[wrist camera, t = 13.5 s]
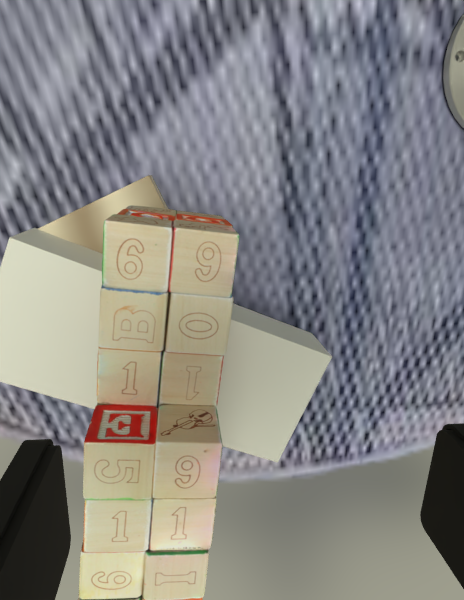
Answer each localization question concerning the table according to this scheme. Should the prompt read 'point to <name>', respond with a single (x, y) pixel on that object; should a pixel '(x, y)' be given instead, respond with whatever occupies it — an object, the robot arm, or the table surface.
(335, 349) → the table surface
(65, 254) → the upper slab
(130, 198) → the lower slab
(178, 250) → the stack of blocks
